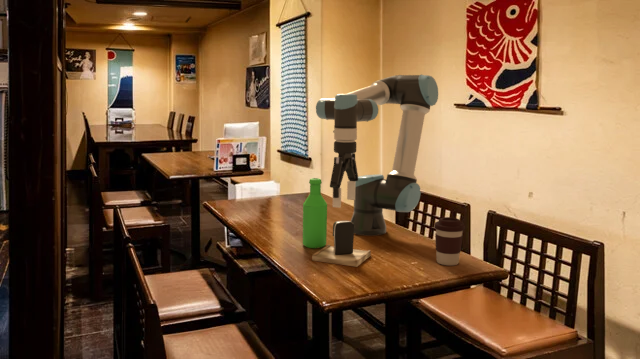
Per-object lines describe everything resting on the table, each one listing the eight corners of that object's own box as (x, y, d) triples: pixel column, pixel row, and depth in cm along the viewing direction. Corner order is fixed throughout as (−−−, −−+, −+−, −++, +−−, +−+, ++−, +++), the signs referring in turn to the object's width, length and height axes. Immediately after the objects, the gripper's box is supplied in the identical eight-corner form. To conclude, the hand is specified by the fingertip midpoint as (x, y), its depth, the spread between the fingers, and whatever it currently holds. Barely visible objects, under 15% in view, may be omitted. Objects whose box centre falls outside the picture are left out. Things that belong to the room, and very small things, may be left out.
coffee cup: (426, 259, 197) (429, 217, 194) (451, 257, 200) (454, 215, 198) (442, 268, 188) (445, 223, 185) (468, 265, 191) (471, 221, 189)
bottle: (299, 247, 209) (300, 179, 205) (306, 241, 217) (306, 176, 213) (323, 249, 207) (324, 181, 203) (328, 243, 215) (330, 177, 211)
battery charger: (349, 251, 200) (350, 219, 199) (354, 254, 197) (354, 221, 195) (330, 252, 198) (331, 220, 196) (334, 255, 195) (335, 222, 193)
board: (328, 249, 207) (328, 244, 207) (370, 255, 201) (370, 250, 200) (312, 260, 194) (312, 254, 194) (356, 266, 188) (357, 261, 188)
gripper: (347, 137, 204) (346, 195, 208) (320, 143, 182) (319, 209, 185) (367, 138, 201) (366, 197, 205) (342, 145, 179) (341, 211, 182)
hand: (344, 203), depth 195 cm, fingers open, 13 cm apart
